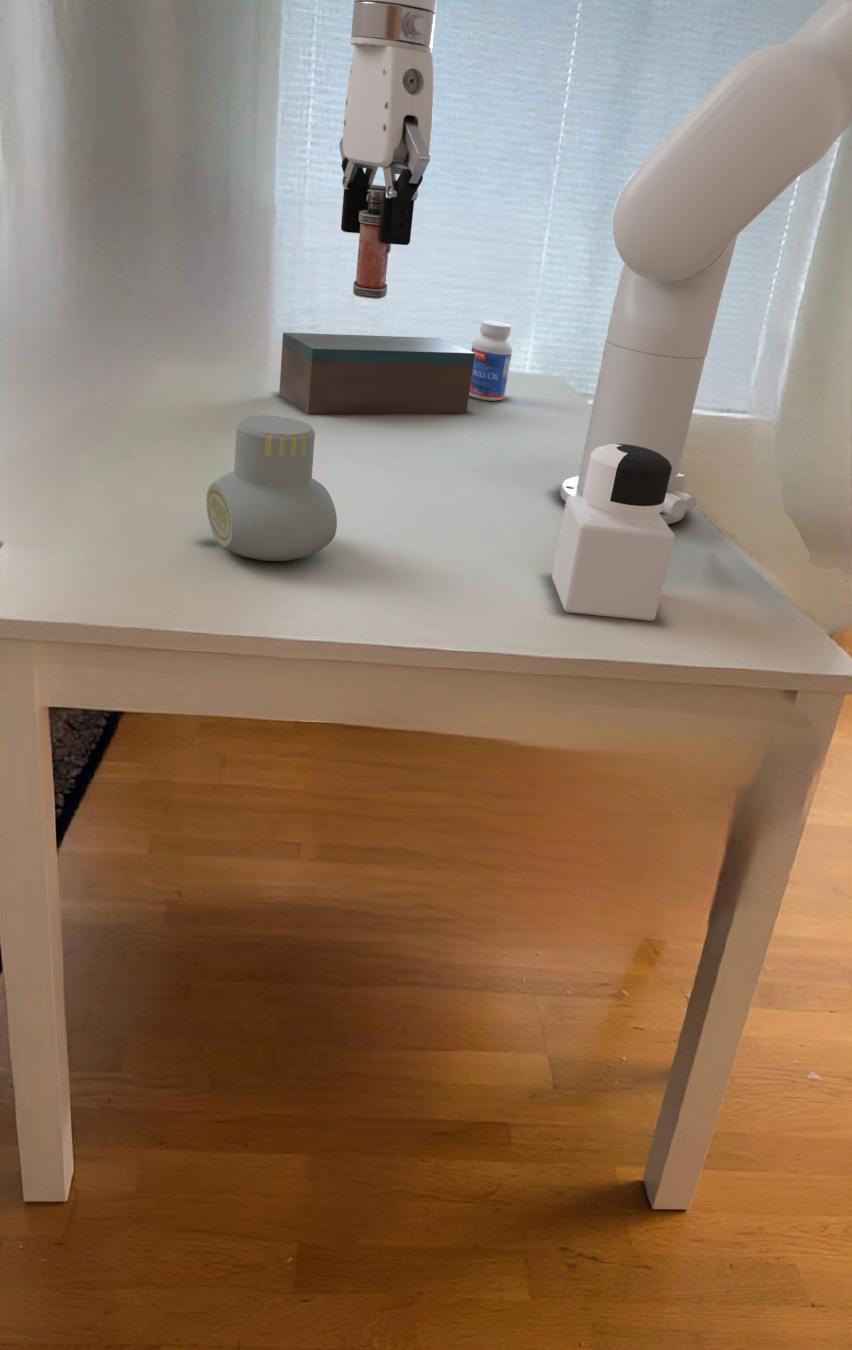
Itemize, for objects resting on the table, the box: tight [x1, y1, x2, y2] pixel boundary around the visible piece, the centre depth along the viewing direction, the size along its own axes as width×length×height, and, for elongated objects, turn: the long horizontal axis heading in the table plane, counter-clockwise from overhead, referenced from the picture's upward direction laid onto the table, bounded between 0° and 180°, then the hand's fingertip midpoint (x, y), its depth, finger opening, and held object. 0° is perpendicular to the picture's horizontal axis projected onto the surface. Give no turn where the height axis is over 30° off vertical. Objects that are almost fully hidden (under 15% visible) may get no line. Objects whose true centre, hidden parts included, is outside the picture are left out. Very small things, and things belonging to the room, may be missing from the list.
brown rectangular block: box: [278, 332, 475, 415], centre depth 132 cm, size 9×22×8 cm, turn 119°
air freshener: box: [206, 415, 338, 562], centre depth 82 cm, size 11×8×10 cm
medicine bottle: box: [551, 444, 676, 622], centre depth 81 cm, size 7×7×12 cm
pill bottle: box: [469, 319, 513, 402], centre depth 144 cm, size 6×5×10 cm
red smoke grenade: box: [352, 184, 392, 300], centre depth 106 cm, size 8×3×10 cm, turn 0°
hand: (374, 237), depth 106 cm, fingers closed on red smoke grenade, 7 cm apart
